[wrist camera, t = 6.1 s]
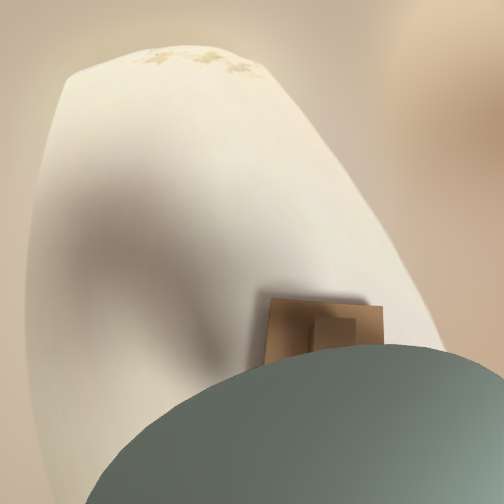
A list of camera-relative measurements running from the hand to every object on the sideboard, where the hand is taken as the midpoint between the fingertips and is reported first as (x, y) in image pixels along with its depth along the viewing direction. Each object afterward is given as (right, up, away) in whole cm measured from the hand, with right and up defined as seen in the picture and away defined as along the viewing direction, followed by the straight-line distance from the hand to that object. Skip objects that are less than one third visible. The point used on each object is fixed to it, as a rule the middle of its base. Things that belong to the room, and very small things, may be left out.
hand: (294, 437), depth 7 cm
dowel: (0, -5, +5) cm, 7 cm away
